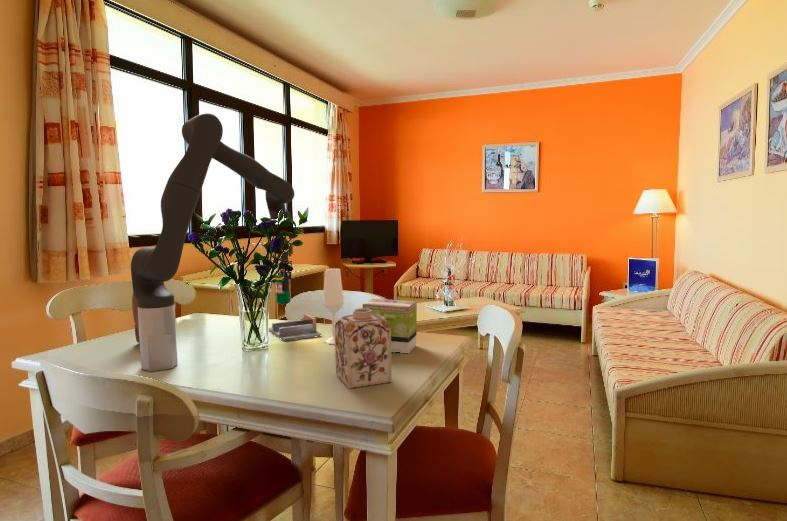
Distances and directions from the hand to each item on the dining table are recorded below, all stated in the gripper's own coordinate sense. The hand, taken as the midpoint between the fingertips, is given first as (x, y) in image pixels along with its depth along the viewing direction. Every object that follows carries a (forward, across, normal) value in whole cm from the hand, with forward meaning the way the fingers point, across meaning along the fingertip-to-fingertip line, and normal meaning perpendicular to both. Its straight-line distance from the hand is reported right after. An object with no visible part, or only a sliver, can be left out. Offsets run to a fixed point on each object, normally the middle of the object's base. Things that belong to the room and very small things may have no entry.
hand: (282, 290), depth 172 cm
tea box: (+16, -34, -23) cm, 44 cm away
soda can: (+5, 0, 0) cm, 5 cm away
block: (+16, +11, +41) cm, 45 cm away
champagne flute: (+16, -18, -11) cm, 26 cm away
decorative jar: (+16, -55, -3) cm, 57 cm away
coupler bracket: (+16, 0, -4) cm, 16 cm away
